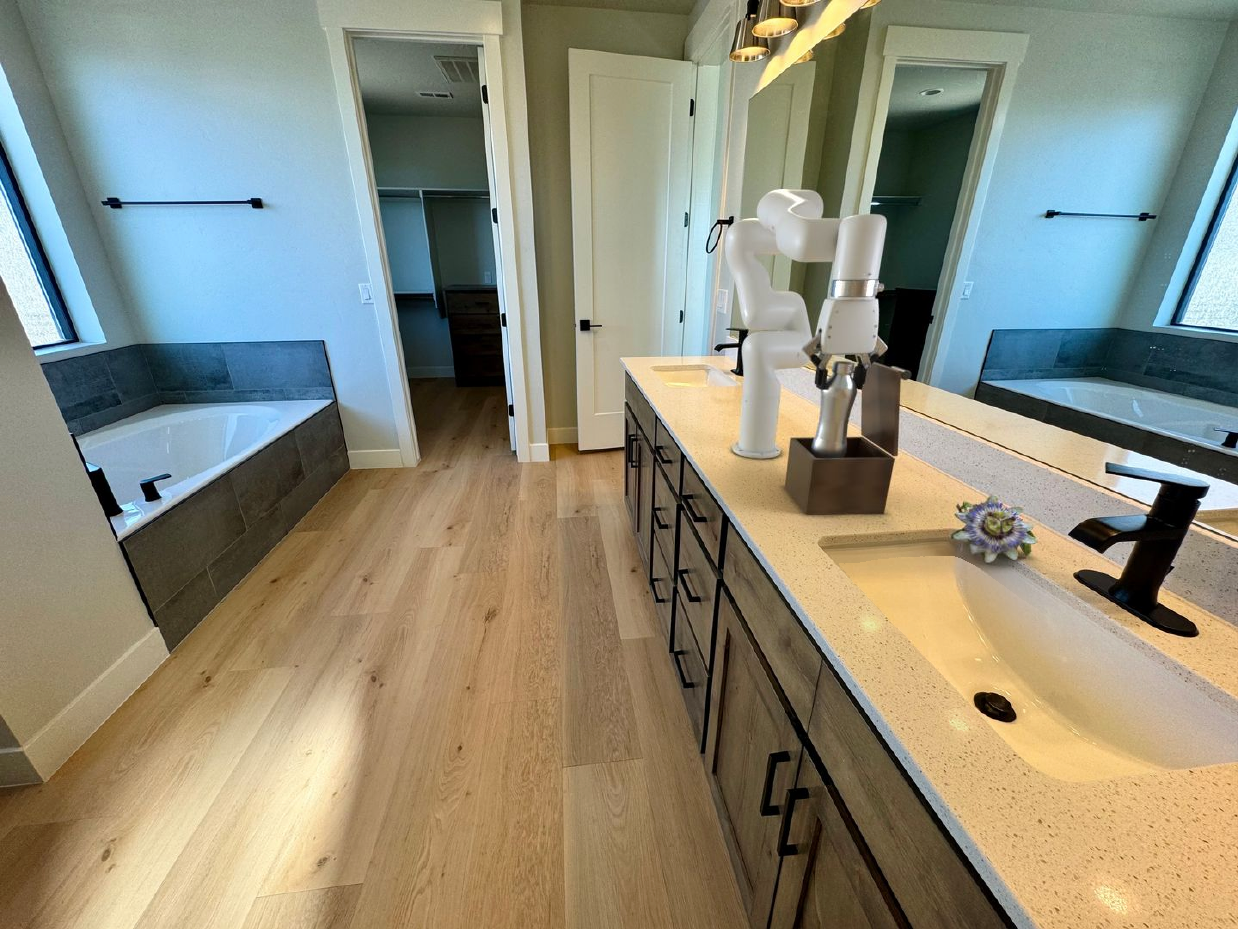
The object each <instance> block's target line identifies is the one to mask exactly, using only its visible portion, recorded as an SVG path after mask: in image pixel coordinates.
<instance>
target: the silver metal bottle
mask: <svg viewBox="0 0 1238 929" xmlns="http://www.w3.org/2000/svg"><path fill="white" fill-rule="evenodd" d="M855 364H856V363H855V362H853V361H847V360H846V361H845V360H843V361H842V360H836V361H833V364H832V368H831V372H832V374H831V375H829V377H827V382H826V389H825V390H820V408H819V418H818V424H817V427H816V431H815V435H814V440H813V443H812V446H811V449H812V455H813V456H814V457H815V458H844V457H845V454H846V452H847V440H846V439H847V437H848V427H849V421H850V417H851V413H852V409H853V407H854V403H855V401H856V397H857V395H858V389H857V386H856V384H855V382H854V380H853V373H854V368H855V366H856V365H855Z"/></svg>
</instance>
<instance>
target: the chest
mask: <svg viewBox="0 0 1238 929" xmlns="http://www.w3.org/2000/svg"><path fill="white" fill-rule="evenodd" d="M814 437H815V436H814ZM814 437H813V436H807V437H806V436H805V437H801V436H800V437H799V436H798V437H790V440H789V447H788V456H787V462H786V463H787V464H786V473H785V479H784V480H785V481H784V488H785V489H786V491H787V492H788V493H789V495H790V496H791V497H792V499H793V500H794V501H795V503H796V504H797V505H798V506H799V508H800V509H801V510H802V512H803V513H804V515H809V516H811V515H812V516H813V515H883V514H885V512H886V511H885V510H886V505H887V502H888V495H889V492H890V486H891V480H892V476H893V471H894V467H895V461H896V458H895V457H894V456H892V455H891V454H889V453H888V452H886V451H885V450H883V449H882V448H880V447H879V446H877V445H876V444H874V443H873V442H871V441H870V440H868V439H867V438H865V437H864V436H847V439H846V440H847V452H846V454H845V457H844V458H815V457H814V456H813V455H812V449H811V446H812V443H813V440H814Z"/></svg>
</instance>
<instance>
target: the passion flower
mask: <svg viewBox="0 0 1238 929" xmlns="http://www.w3.org/2000/svg"><path fill="white" fill-rule="evenodd" d="M1003 505H1004V502H1000V501H999V498H998V496H997V495H995V494H994V493H991V495H989V496H988V497H987V498H986V500H985V501H984V502H980V503H979V504H977V503H975V504H972V503H970V502H968V501H963V502H962V505H960V503H958V502H957V504H956V505H955V507H956V509H957V511H958V512H957V513H954V516H955V518H957V519H958V520H959V521H960V522H961V523H963V524H965V525H964V526H963V527H962V528H961V529H957V530H956V531H953V532H952V533H951V534H950V538H951V539H952V540H956V541H964V540H967V541H968V552H969V554H970V556H974V555H975V556H976V555H977V554H978V555H980V556H982V558H983V561H984V563H985V564H991V563H993V562H994V561H995V560H996V559H997V557H998V555H999V554H1004V555H1005V556H1006V557H1007V558H1008V559H1010V560H1012V561H1016V560H1017V559H1018V557H1019V551H1018V550H1019V549H1018V548H1020V549H1021V551H1022V553H1023V555H1024V557H1025V558H1026V557H1028V556H1029V555H1030V554H1031V553H1032V545H1035V544H1037V543H1038V539H1037V538H1036V536H1035V534H1034V533H1033V532H1032V530H1033V529H1034V528H1035V525H1034V524H1033V523H1031V522H1028V521H1023V520H1024V519H1023V518H1022V519H1021V517H1022V515H1021V514H1022V513H1023V511H1024V507H1023V506H1021V505H1019V506H1013V507H1012V506H1011V507H1009V508H1008V507H1003ZM968 508H969V509H968ZM963 510H964V511H963ZM1019 516H1020V517H1019Z"/></svg>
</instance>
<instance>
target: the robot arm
mask: <svg viewBox="0 0 1238 929" xmlns="http://www.w3.org/2000/svg"><path fill="white" fill-rule="evenodd" d="M823 214H824V201H823V198H822V197H821V195H820V194H819V193H818V192H817V191H815V190H812V189H786V188H785V189H783V188H782V189H775V190H774V189H773V190H771V191H769V192H767V193H766V194H764V195H763V196H762V198H760V200H759V202H758V204H757V206H756V217H757V218H756V217H755V218H753V217H751V218H743V219H740V220H737V221H735V222H733V223H732V224H731V225H729V227H728V228H727V230H726V234H725V239H724V255H725V260H726V264H727V267H728V270H729V271H730V274H731V276H732V278H733V280H734V284H735V288H736V293H737V300H738V306H739V310H740V315H741V320H742V323H743V326H744V327H745V328H746V329H748V330H750V331H755V332H753V333H751V334H749V335H747V336H746V338H744V340H743V342H742V345H741V359H742V370H743V373H742V374H743V376H742V377H743V379H742V380H743V382H742V396H741V409H740V419H739V420H740V421H739V433H738V434H739V435H738V441H736V442H734V443H733V445H732V451H733V453H735V454H737V455H739V456H741V457H745V458H749V459H759V460H762V459H772V458H776V457H778V456H779V455H780V454H781V451H782V449H781V447H780V446H779V445H778V444H776V441H777V440H776V439H777V431H778V421H779V412H780V403H781V393H782V386H781V382H780V381H779V379H778V378H777V376H776V373H775V371H777V370H789V369H800V368H804V367H806V366H808V365H809V363H810V362H811V363H812V364H813V365H814V367H815V368H816V369H815V375H814V385H815V388H817V389H819V391H821V390H825V389H826V382H827V379H828V375H829V370H828V368H827V366H828V364H829V362H830V361H831V359H832V357H833V356H847V355H848V356H851V355H853V356H855V360H856V363H857V365H854V373H852V378H853V380H854V382H855V384H856V386H857V391H858V390H860V391H862V387H863V384H864V383H865V379H866V373H867V369H868V368H870V366H871V364H872V363H874V362H876V361H877V360H878V359H879V357H881V356H882V355H883V354H884V353H885V352H887V350H888V345H886V343H885V342H884V341H883V340H882V339H881V337H880V336H879V335H878V332H879V322H880V321H879V320H880V319H879V318H880V317H879V316H880V313H879V312H880V308H879V306H880V305H879V298H876V296H877V294H878V293H879V292H883V291H884V288H885V284H884V283H880V282H879V276H880V269H881V263H882V256H883V251H884V245H885V240H886V232H887V225H888V221H887V218H886V216H884V215H882V214H878V213H877V214H876V213H865V214H854V215H849V216H847V217H845V218H839V217H830V218H829V217H823ZM783 255H784V256H785V257H787V258H789V259H791V260H792V261H795V262H800V263H834V264H833V270H832V271H833V272H832V279H831V286H830V295H829V298H825V299H824V301H823V303H822V306H821V310H820V313H819V316H818V320H817V325H816V326H817V327H816V330H815V335H814V337H813V335H812V331H811V326H810V320H809V315H808V311H807V306H806V304H805V300H804V298H803V297H802V295H800V294H799V293H797V292H795V291H792V290H791V291H790V290H775V289H773V287H772V284H771V278H770V274H769V273H768V272H769V271H767V269H766V267H765V266H764V265H763V264H762V263H761V262H760V261H759V260H758V259H757V258H756V257H755V256H783ZM814 350H815V351H817V352H819V354H818V355H817V354H816V353H815V351H814Z"/></svg>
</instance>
